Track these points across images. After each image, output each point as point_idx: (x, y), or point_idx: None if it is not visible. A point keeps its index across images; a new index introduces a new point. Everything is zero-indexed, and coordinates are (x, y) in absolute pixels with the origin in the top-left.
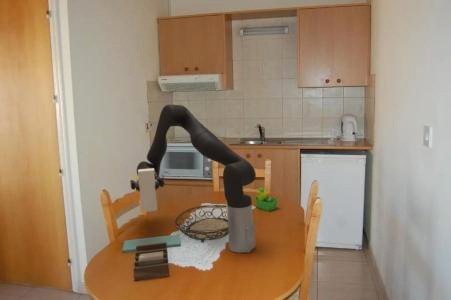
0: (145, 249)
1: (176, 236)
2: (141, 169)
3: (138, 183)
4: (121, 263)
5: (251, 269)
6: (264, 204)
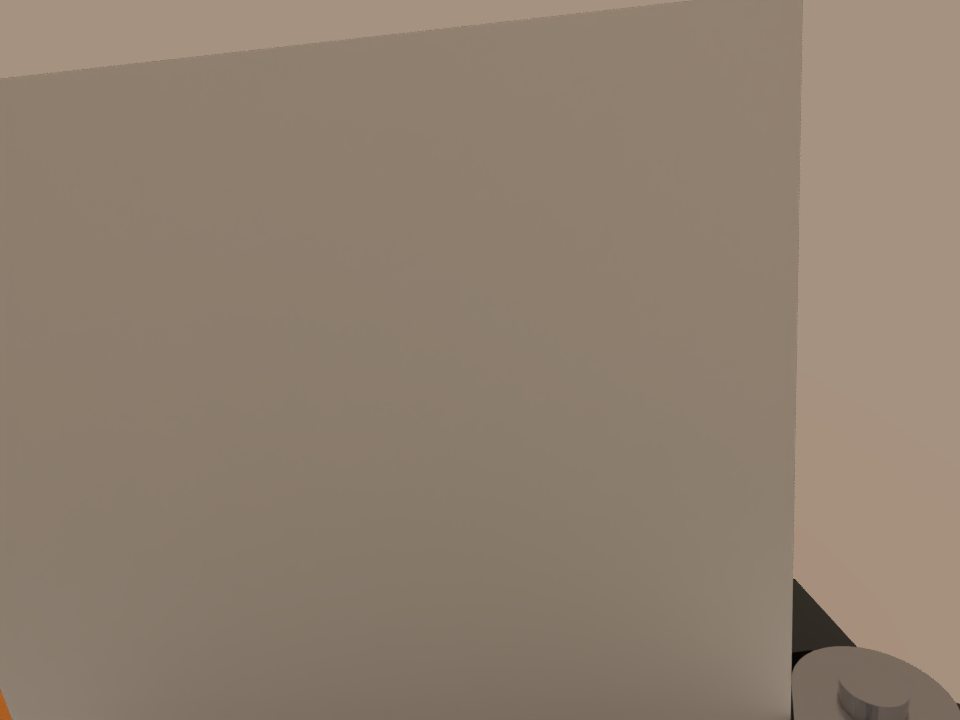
0: None
1: None
2: (586, 28)
3: (793, 667)
4: None
5: (9, 713)
6: None
